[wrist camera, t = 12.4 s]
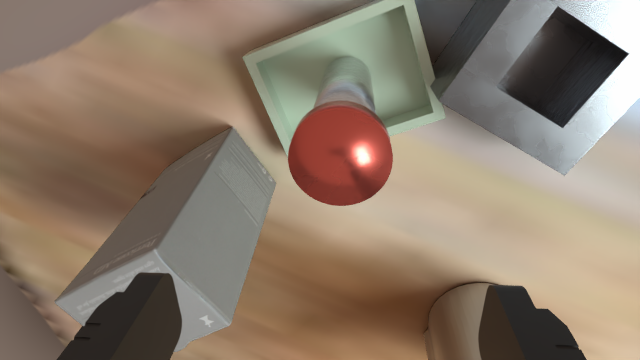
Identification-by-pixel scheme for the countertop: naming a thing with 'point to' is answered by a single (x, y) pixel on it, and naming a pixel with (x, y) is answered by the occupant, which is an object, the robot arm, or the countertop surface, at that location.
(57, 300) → the skincare box
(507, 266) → the countertop surface
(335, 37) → the dish
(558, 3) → the block
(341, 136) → the pin
